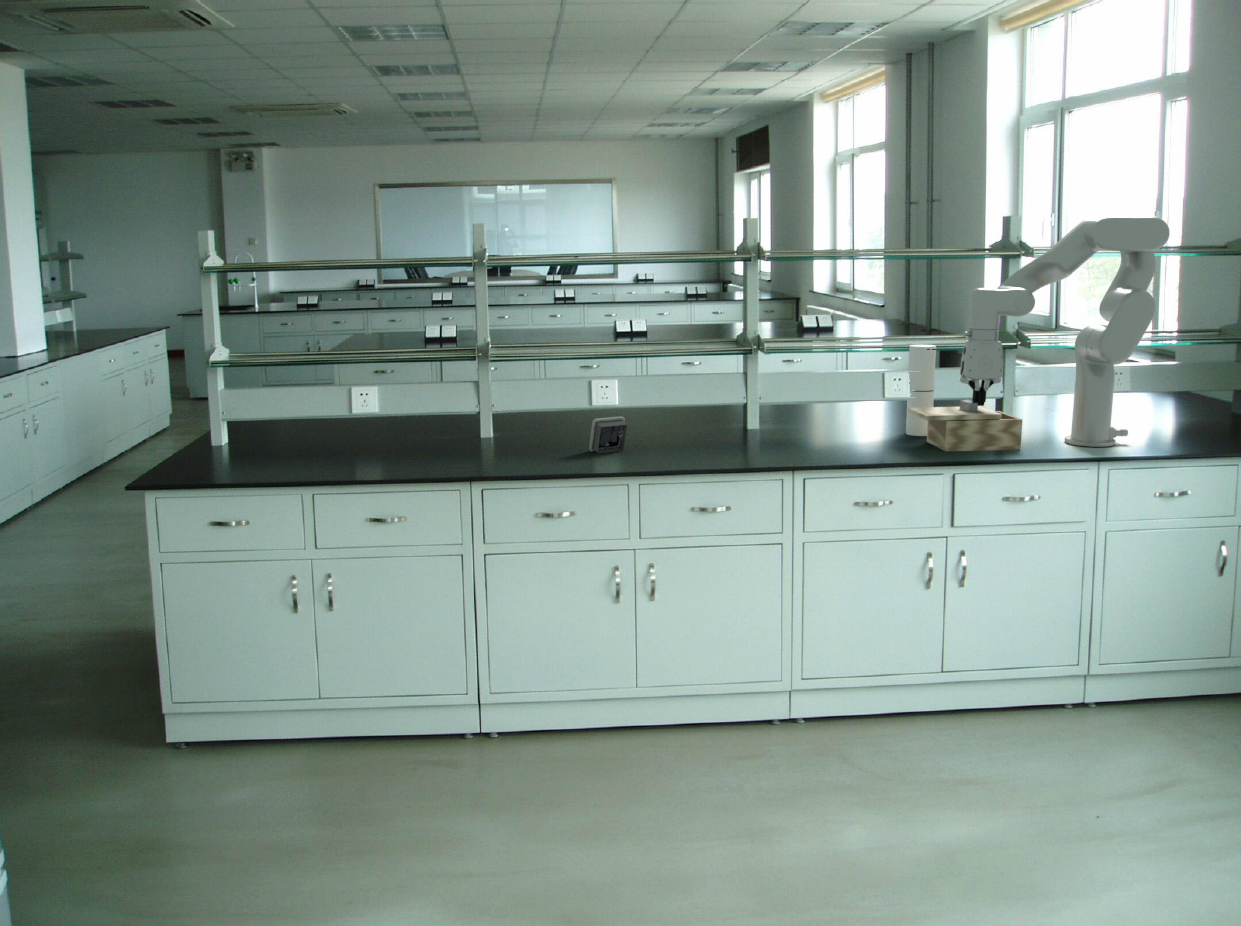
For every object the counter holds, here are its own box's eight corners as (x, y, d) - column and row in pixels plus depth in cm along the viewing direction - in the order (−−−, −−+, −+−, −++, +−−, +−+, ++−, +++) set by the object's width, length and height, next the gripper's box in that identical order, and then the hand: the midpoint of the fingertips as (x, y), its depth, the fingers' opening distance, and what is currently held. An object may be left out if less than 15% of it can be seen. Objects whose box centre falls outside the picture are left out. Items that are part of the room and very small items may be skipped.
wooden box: (997, 439, 294) (999, 411, 292) (1020, 449, 280) (1022, 419, 279) (926, 441, 292) (928, 412, 291) (946, 451, 279) (947, 421, 277)
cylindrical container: (920, 437, 299) (925, 347, 294) (900, 433, 305) (904, 345, 300) (937, 434, 304) (941, 345, 298) (916, 430, 309) (920, 344, 304)
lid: (979, 410, 292) (980, 397, 291) (1001, 418, 278) (1002, 405, 277) (907, 412, 290) (908, 398, 290) (926, 420, 277) (927, 406, 276)
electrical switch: (619, 448, 288) (620, 414, 285) (628, 453, 284) (630, 419, 281) (588, 451, 284) (589, 417, 281) (597, 456, 279) (598, 422, 277)
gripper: (961, 337, 276) (956, 407, 280) (1017, 336, 277) (1012, 406, 281) (950, 334, 284) (945, 403, 287) (1004, 334, 285) (999, 402, 289)
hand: (978, 404), depth 284 cm, fingers closed
